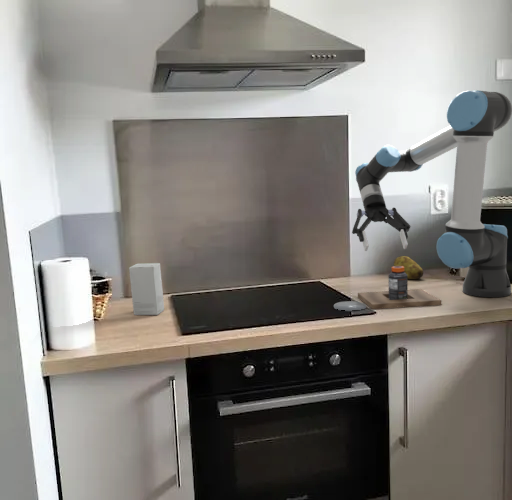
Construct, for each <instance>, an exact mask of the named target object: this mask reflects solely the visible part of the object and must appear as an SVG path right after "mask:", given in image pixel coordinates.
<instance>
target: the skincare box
mask: <svg viewBox="0 0 512 500" xmlns="http://www.w3.org/2000/svg"><path fill="white" fill-rule="evenodd" d="M128 271H129V281H130V290H131V299H132V309H133V315H134V316H157V315H160V314H161V313H162V312H163V311H165V303H164V302H165V301H164V292H163V281H162V271H161V263H160V262H151V263H150V262H149V263H148V262H147V263H136V264H134V265H131V266H130V267H128Z"/></svg>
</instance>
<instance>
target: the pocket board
mask: <svg viewBox="0 0 512 500" xmlns="http://www.w3.org/2000/svg"><path fill="white" fill-rule="evenodd" d="M357 298H358V299H360V300H361V301H362V303H364V304H366V306H368V307H370V309H371V310H379V309H383V310H384V309H396V308H398V309H399V308H409V307H410V308H412V307H414V308H415V307H426V306H427V307H428V306H429V307H431V306H441V305H442V299H440V298H438V297H437V296H434V295H433V294H431V293H429V292H428V291H426V290H424V289H421V288H417V289H416V288H415V289H408V299H399V300H389V290H384V291H370V292H367V291H366V292H365V291H364V292H358V293H357Z"/></svg>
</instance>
